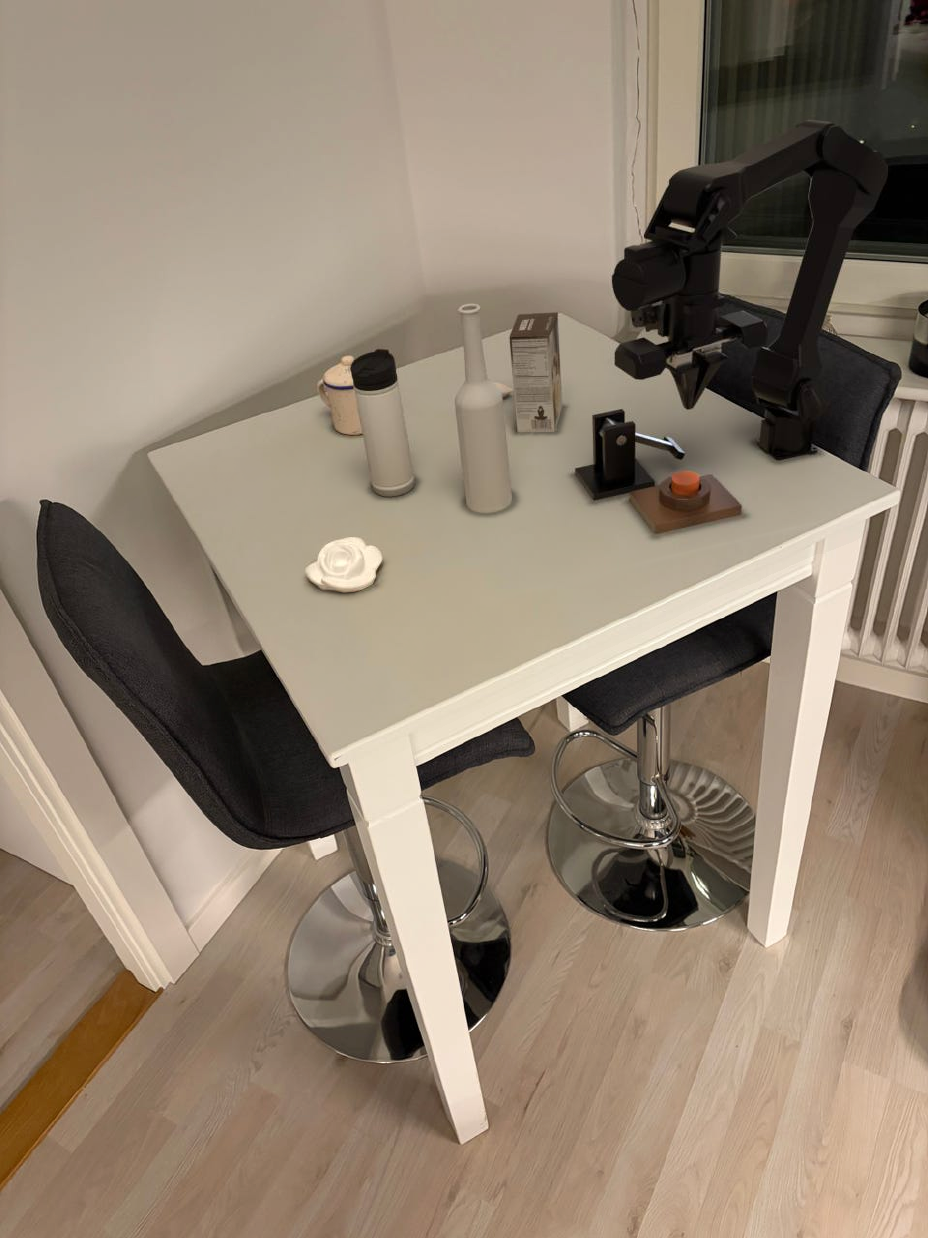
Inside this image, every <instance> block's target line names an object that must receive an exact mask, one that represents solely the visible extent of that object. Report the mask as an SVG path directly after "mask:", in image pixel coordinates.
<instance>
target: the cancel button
mask: <svg viewBox="0 0 928 1238" xmlns="http://www.w3.org/2000/svg"><path fill="white" fill-rule="evenodd" d="M671 476H672V481H671V490H672V492H674V493H676V494H679V495H690V494H695V493H697V492H698V491H699V481H700V477H699V476H700V475H699V474H698V473H697V472H694V471H690V470H680V471H677V472H675V473H674V474H673V475H671Z"/></svg>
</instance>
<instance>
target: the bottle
mask: <svg viewBox="0 0 928 1238" xmlns="http://www.w3.org/2000/svg"><path fill="white" fill-rule="evenodd" d="M480 310H481V305H479V304H478V303H465V304H463V305H460V306H459V307H458V310H457V311H458V313H459V316H460V325H461V326H460V327H461V337H462V345H463V346H462V347H463V358H464V359H463V360H464V382H463V384H462V386H461V387H460V388H459V390H458V391H457V393H456V394H455V396H454V407H455V409H454V410H455V416H456V417H455V418H456V425H457V435H458V445H459V453H460V463H461V471H462V478H463V488H464V489H463V490H464V497H465V504H466V507H467V508H468V509H470V510H471V511H474V512H477V513H483V514H484V513H485V514H487V513H496V512H499V511H501V510H504V509H506V508H507V507H508V506H510V505H511V503H512V501H513V493H512V480H511V472H510V461H509V452H508V451H509V450H508V449H509V448H508V440H507V430H506V420H505V419H506V418H505V409H504V397H503V398H502V393H501V392H500V390H499V389H498V388H497V387H496V386H495V385H494V384H493V382H492V381H491V380H490V379H489V377H488V372H487V365H486V359H485V353H484V346H483V338H482V329H481V328H482V327H481V317H480Z"/></svg>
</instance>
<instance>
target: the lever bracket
mask: <svg viewBox="0 0 928 1238" xmlns="http://www.w3.org/2000/svg"><path fill="white" fill-rule="evenodd" d="M625 414H626V412H625V410H624V409H623V408H620V409H615V410H609V411H606V412H605V411H604V412H601V413H595V414H592V415H591V416H592V418H591V419H592V420H591V421H592V422H591V423H592V458H593V459H592V460H593V461H592V462H593V464H589V465H584V466H580V467H576V468H574V474H575V477H577V479H578V480H579V482H580V483H581V485H582V486H583V488H584V489H585V490H586V492H587V493H588V495H589V497H590V498H591V499H592V500H593V501H599V500H604V499H609V498H613V497H617V496H622V495H626V494H630V492H632V491H636V490H641V489H645V488H650V487H654V486H656V481H655V479H654V478H653V477H652V476H651V474H650V473H648V471H647V470H646V468H644V466H643V465H642V463H640V462H639V460H638V459H637V458H636V442H635V433H636V422H634V420H630V421H626V415H625ZM606 418H609V419H612V420H616V421H619V422H623V423H621V424H616V425H612V426H607V427H603V428H602V426H603V424H604V422H605V419H606ZM601 428H602V431H603V437H602V436H601V435H600V434H599V432H600V430H601Z"/></svg>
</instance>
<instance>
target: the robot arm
mask: <svg viewBox="0 0 928 1238" xmlns="http://www.w3.org/2000/svg"><path fill="white" fill-rule="evenodd" d="M801 172H803V173H805V175H807V176H808V177H809V178H810V186H809V189H808V190H809V191H808V203H809V208H810V213H811V217H812V226H811V229H810V233H809V236H808V239H807V243H806V246H805V249H804V253H803V256H802V258H801V259H802V260H801V263H800V266H799V269H798V272H797V276H796V279H795V282H794V286H793V289H792V293H791V295H790V300H789V302H788V306H787V309H786V313H785V315H784V318H783V323H782V326H781V329H780V332H779V334H778V336H777V338H776V339H775V340H774V341H773V342H772V343H770V345H769V346H768V347H764V346H766V345H767V344H768V339H769V338H768V337H769V328H768V325H767V323H766V322H765V320H764V319H761V318H759V317H757V316H755V315H753V314H751V313H749V312H747V311H744V310H740V311H735V312H731V313H728V314H725V315H721V316H719V317H718V313H719V312H718V311H719V310H718V309H720V308H724V307H725V304H726V297H724V296H723V295H721V294H720V281H721V266H722V265H721V263H722V249H723V245H725V244H728V243H730V242H733V241H735V240H736V239H737V234H736V232H734V231H733V230H732V229H730V228H729V227H728V226H727V225H728V224H729V223H731V222H732V221H733V220H734V219H736V218H737V217H739V216H740V214H741V213H742V212H743V210H744V208H745V205H746V203H747V202H748V201H750V200H751V199H752V198H754V197H755V196H758V195H759V194H762V193H763V192H765V191H767V190H769V189H772V187H775V186H776V185H778V184H781V183H782V182H784V181H786V180H788V179H790V178H791V177H794V176H795V175H798V174H799V173H801ZM888 174H889V165H888V164H887V163H886V159H885V156H884V154H883V153H882V152H880V151H878V150H873V149H872V148H871V147H869V146H868V145H866V144H864V143H862V142H861V141H859V140H858V139H856V138H854V137H852V136H851V135H849V134H848V132H846V131H845V130H844V129H843V128H842V127H841V126H839V125H838V124H837V123H835V122H832V121H823V120H816V119H805V120H804V121H800V122H799V123H797V124H796V125H795V126H794V128H792V129H790V130H788V131H785V132H784V133H782V134H779V135H778V136H776V137H774V138H772V139H769V140H768V141H765V142H764V143H761V144H760V145H758V146H755V147H754V148H752V149H750V150H748V151H746V152H744V153H742V154H740V155H738V156H736V157H734V158H732V159H730V160H727V161H723V162H717V163H715V162H714V163H705V164H698V165H695V166H691V167H687V168H683V169H680V170H678V171H677V172H675V173H674V174H673V175H672V176H671V177H670V178H669V180H668V185H667V187H666V188H665V190H664V192H663V194H662V196H661V198H660V201H659V202H658V205H657V207H656V209H655V210H654V213H653V214H652V217H651V219H650V221H649V223H648V225H647V227H646V230H645V231H644V233H643V238H644V239H645V240H648V241H647V242H644V243H642V244H632V245H629V246H626V247H624V249H623V258H622V259H621V260H619V261H618V262H617V264H616V265H615V267H614V270H613V273H612V275H611V288H612V291H613V295H614V296H615V299H616V301H617V302H618V304H619V305H620V307H622V308H623V309H624V310H626V311H628V312H630V317H631V323H632V325H633V328H635V329H636V328H644V329H645V330H644V331H645V332H646V333H649V332H651V331H655V330H657V335H658V336H659V337H661V338H665V337H667V341H664V342H661V343H658V344H656V343H654V342H652V341H651V340H649V339H648V338H646V337H643V336H642V337H640V338H636V339H632V340H629V341H624V342H622V343H619V344H618V345H617V347H616V348H615V350H614V366H615V367H616V368H618V369H619V370H621V371H622V372H623V373H625V374H626V375H628V376H630V377H631V378H633V379H634V380H636V381H638V380H640V381H643V380H646V379H651V378H653V377H657V376H661V375H662V373H664V371H665V370H666V369H667V370H668V371H669V372H670V374H671V376H672V378H673V381H674V383H675V386H676V389H677V392H678V395H679V398H680V401H681V403H682V406H683V408H684V409H685V410H687V411H689V410H693V409H694V408H695V407H696V405H697V403H698V401H699V400H700V398H701V396H702V395H703V393H704V391H705V389H706V388H707V387H708V385H709V383H710V382H711V380H712V379H713V377H714V376H715V374H716V373H717V371H718V370H719V368H720V367H721V366H722V364H723V363H726V362H728V359H729V356H728V355H726V354H725V353H722V351H723V348H722V345H723V344H726V343H728V342H732V341H736V340H739V339H740V345H742V346H743V347H744V348H745V349H747V350H753V349H756V348H760V349H758V351H757V354H756V359H755V364H754V366H753V368H752V371H751V373H750V375H749V376H750V377H751V385H750V387H751V389H752V390H753V393H754V395H755V400H756V404H757V405H759V406H763V407H765V409H764V410H765V411H764V418H762V419H761V421H760V430H759V431H760V432H759V437H758V438H756V441H755V442H756V444H757V445H758V446H759V447H760V448H762V449H763V450H764V451H765V453H767V454H768V455H769V456H770V457H771V458H773V459H774V460H775V461H777V462H778V461H784V460H788V459H792V458H793V459H794V458H797V457H803V456H806V455H812V454H816V453H818V450H819V448H818V447H817V446H816V445H815V444H814V443H813V440H814V434H815V425H816V421H819V420H821V416H822V415H824V414H826V413H827V411H828V408H829V405H830V403H831V400H832V397H830V395H829V394H828V393H827V392H826V391H825V390H824V389H823V388H822V387H821V386H820V385H819V381H820V377H821V372H822V368H823V367H822V362H821V357H820V353H819V347H818V342H819V338H820V335H821V332H822V330H823V325H824V322H825V319H826V317H827V312H828V311H829V307H830V304H831V301H832V297H833V294H834V291H835V289H836V285H837V282H838V278H839V275H840V273H841V270H842V266H843V263H844V260H845V257H846V254H847V251H848V248H849V245H850V242H851V238H852V235H853V232H854V230H855V229H856V228H857V226H858V225H859V224H860V223H861V222H862V221H863V220H864V219H865V218H866V217H867V216H868V215H869V214H870V213H871V212H872V211H873V210H874V209H875V207H876V205H877V202H878V200H879V197H880V195H881V193H882V192H883V191H882V190H883V188H884V186H885V184H886V183H887V179H888ZM671 224H676V225H678V226H683V227H686V228H690V229H693V231H688V230H684V229H680V228H677V227H673V226H671Z"/></svg>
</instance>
